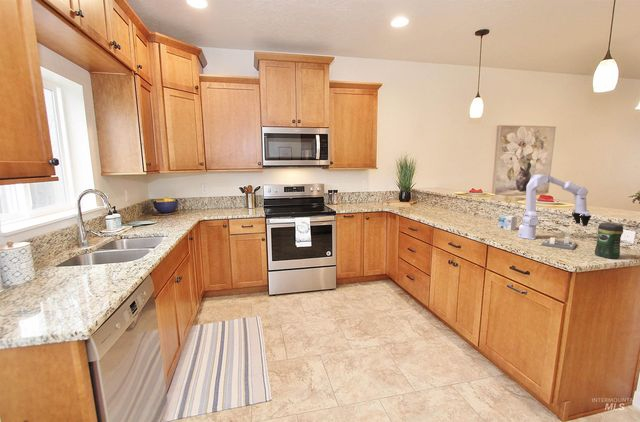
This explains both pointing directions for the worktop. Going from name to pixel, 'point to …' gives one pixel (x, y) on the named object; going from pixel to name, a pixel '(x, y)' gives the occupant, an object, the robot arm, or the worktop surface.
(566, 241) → the cream slider knob
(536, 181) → the robot arm
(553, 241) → the fader cap cream
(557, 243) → the fader console
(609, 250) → the coffee jar
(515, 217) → the light bulb box
